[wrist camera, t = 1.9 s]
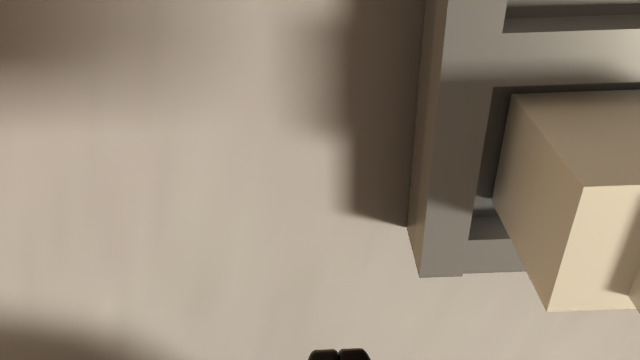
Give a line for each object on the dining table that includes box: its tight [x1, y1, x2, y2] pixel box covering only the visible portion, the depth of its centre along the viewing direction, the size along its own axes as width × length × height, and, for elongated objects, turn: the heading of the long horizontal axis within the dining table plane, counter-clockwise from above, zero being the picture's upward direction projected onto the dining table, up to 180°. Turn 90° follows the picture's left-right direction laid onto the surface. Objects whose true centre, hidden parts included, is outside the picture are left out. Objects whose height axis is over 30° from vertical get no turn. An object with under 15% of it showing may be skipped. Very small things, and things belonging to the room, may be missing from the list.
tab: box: [492, 89, 640, 313], centre depth 12 cm, size 3×4×5 cm
